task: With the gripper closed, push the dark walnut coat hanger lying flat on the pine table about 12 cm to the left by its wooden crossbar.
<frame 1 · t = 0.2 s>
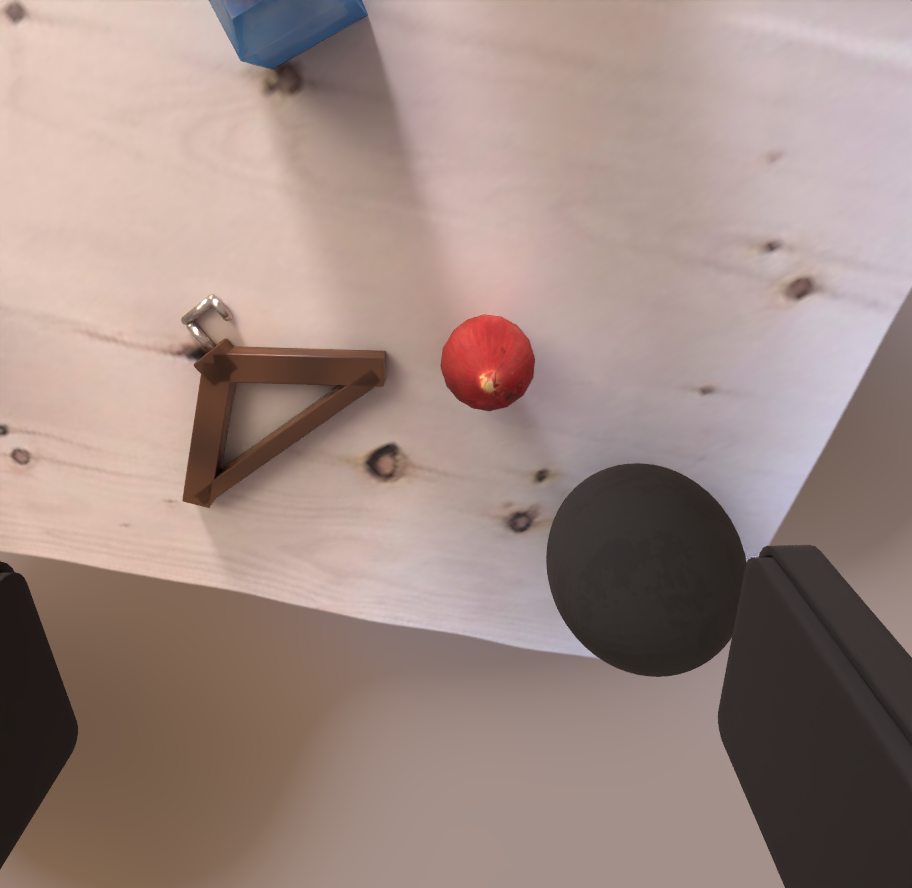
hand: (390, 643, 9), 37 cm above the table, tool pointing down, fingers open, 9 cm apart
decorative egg: (617, 503, 51), on the table
hanger: (260, 399, 47), on the table
onion: (485, 344, 46), on the table
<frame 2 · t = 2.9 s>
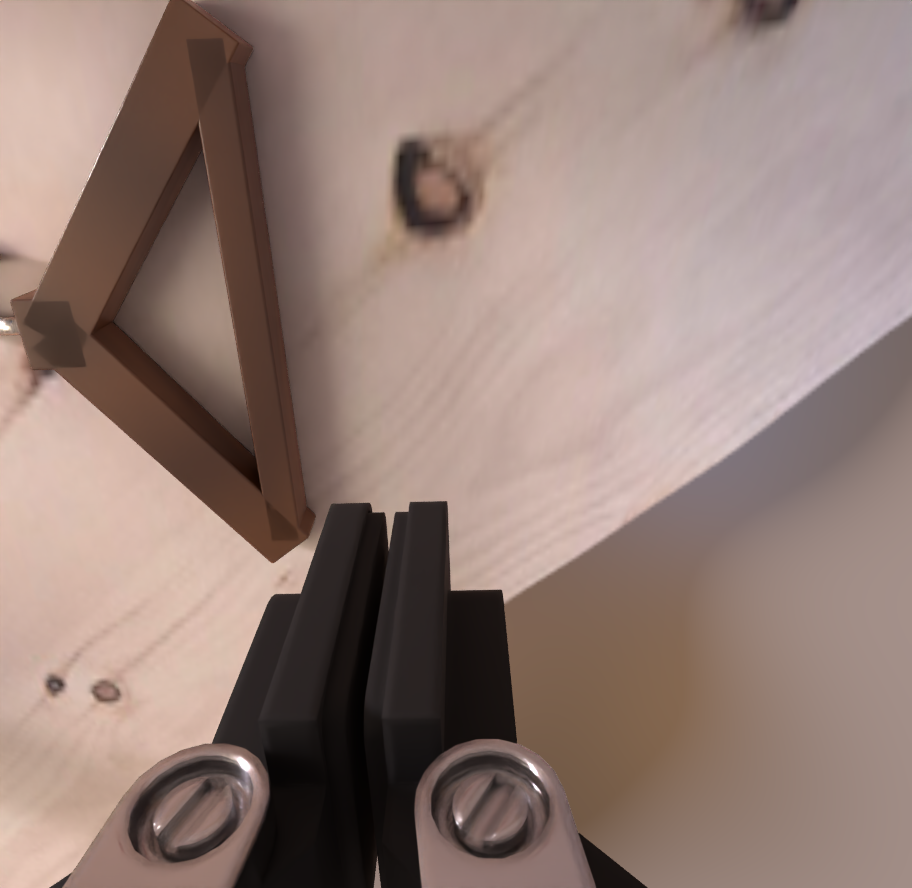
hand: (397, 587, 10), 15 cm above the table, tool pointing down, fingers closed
hanger: (177, 319, 24), on the table
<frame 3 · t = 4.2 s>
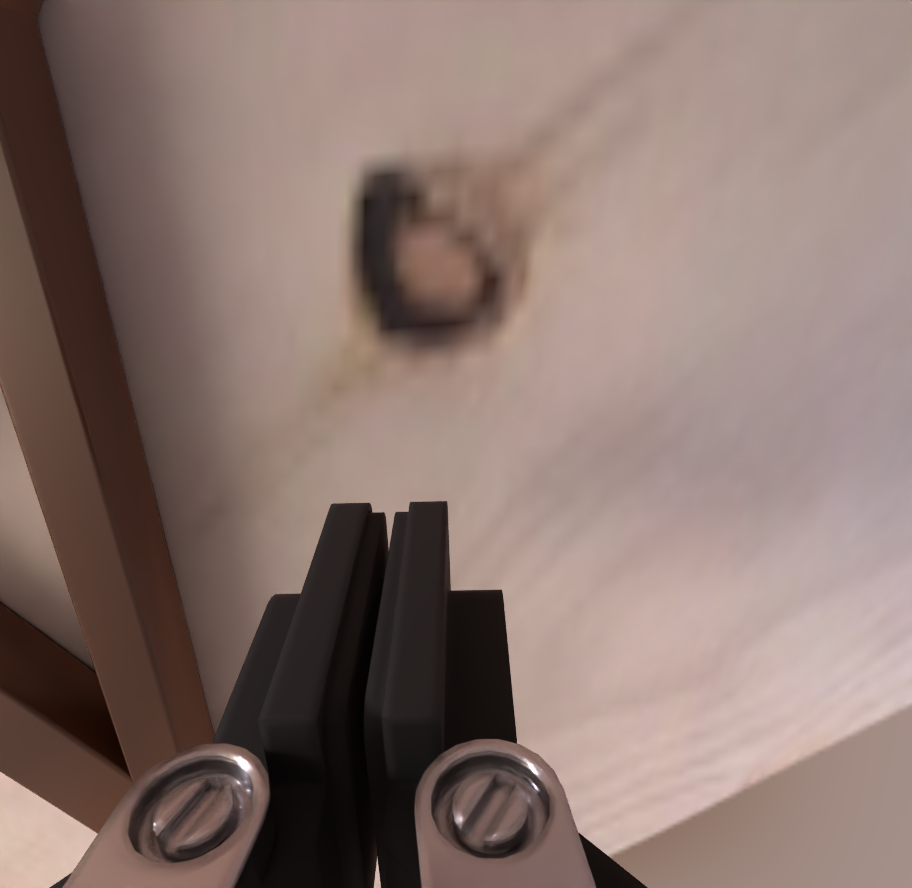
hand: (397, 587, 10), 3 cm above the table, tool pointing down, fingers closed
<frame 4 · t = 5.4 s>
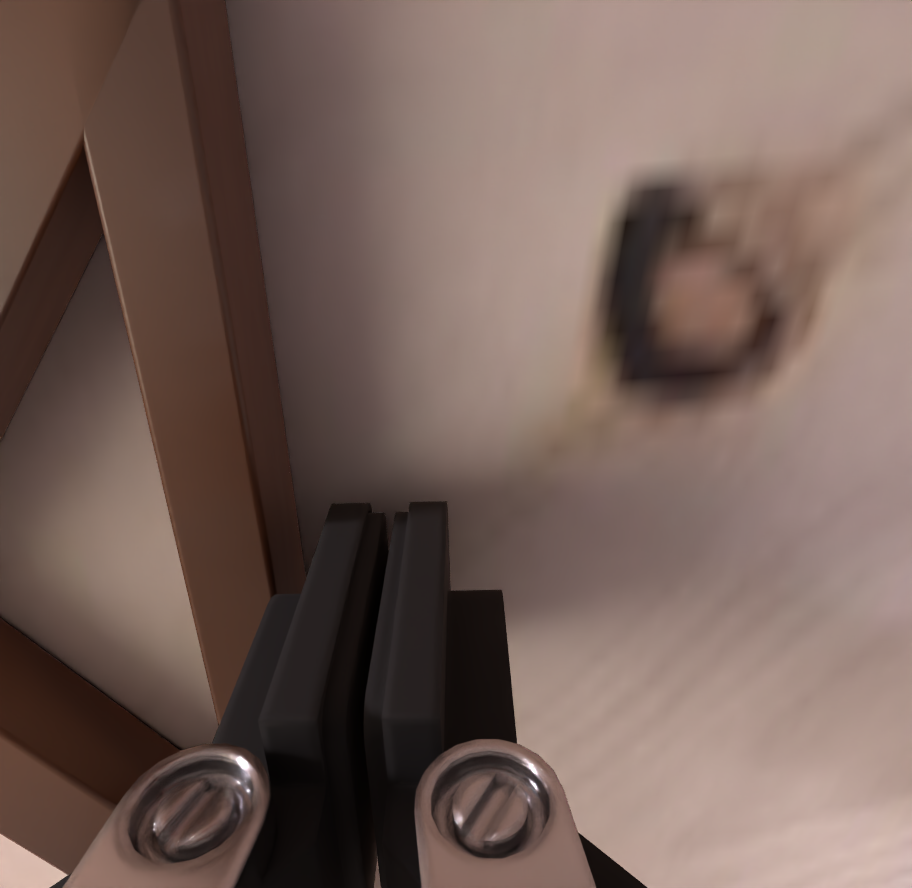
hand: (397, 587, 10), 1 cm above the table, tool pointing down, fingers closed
hanger: (79, 567, 11), on the table, touching gripper
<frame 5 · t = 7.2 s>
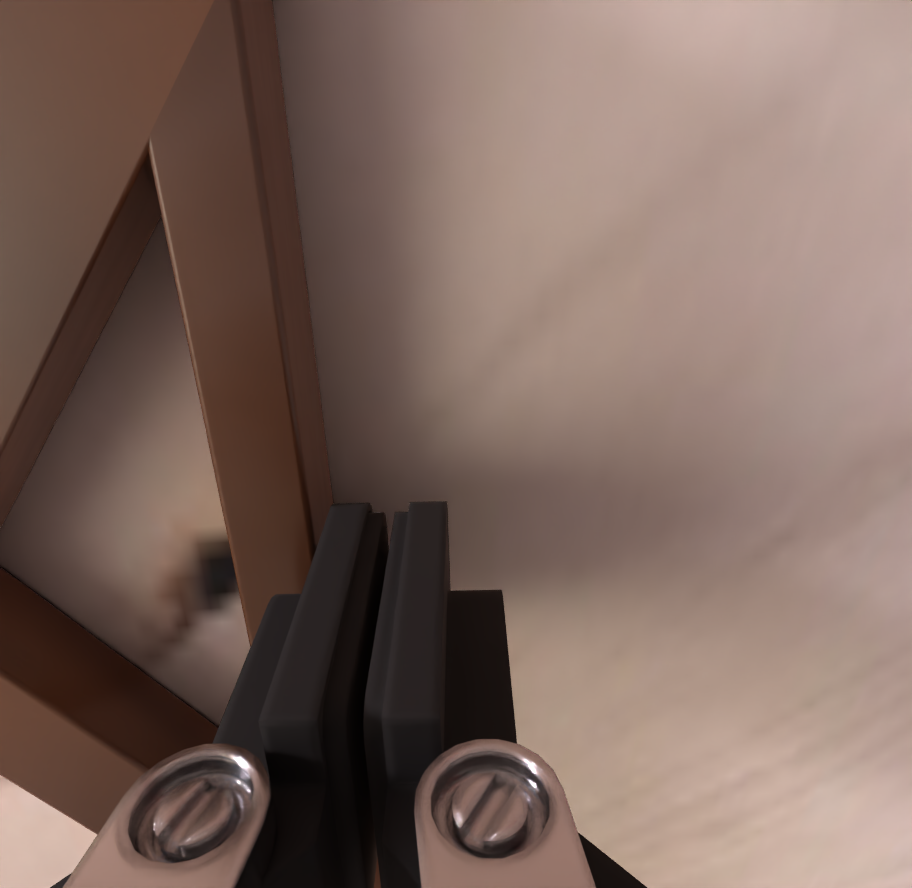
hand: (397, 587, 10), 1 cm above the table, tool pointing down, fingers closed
hanger: (122, 551, 11), on the table, touching gripper
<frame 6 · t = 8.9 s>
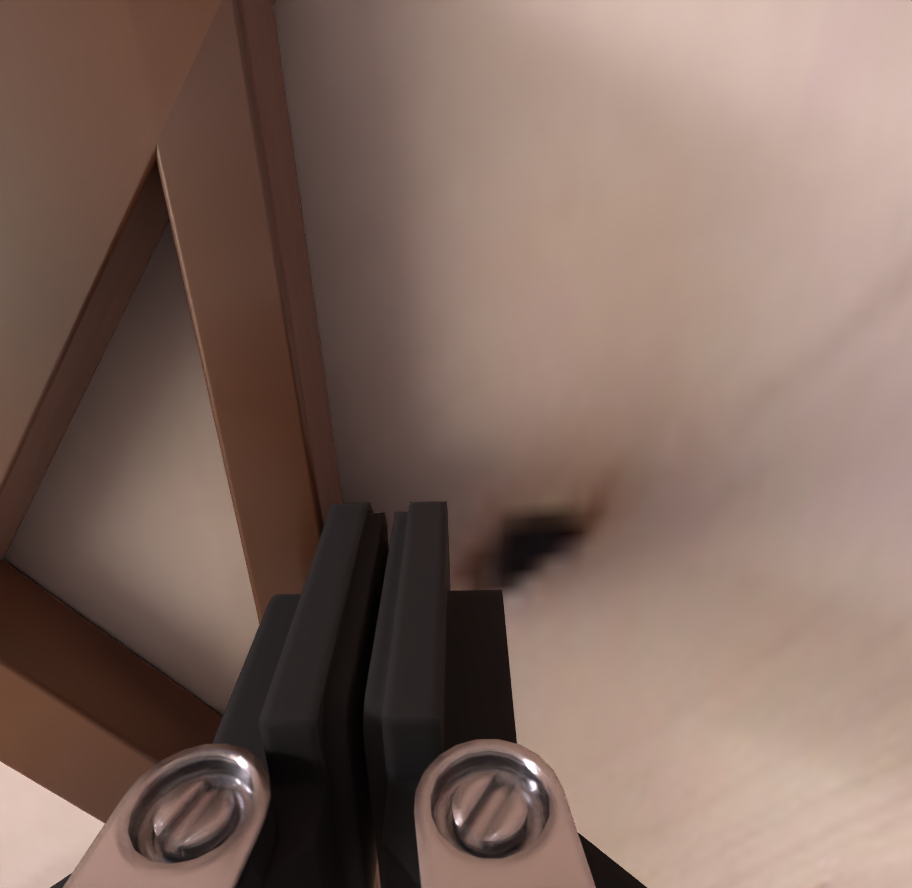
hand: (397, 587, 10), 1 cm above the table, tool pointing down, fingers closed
hanger: (136, 551, 11), on the table, touching gripper
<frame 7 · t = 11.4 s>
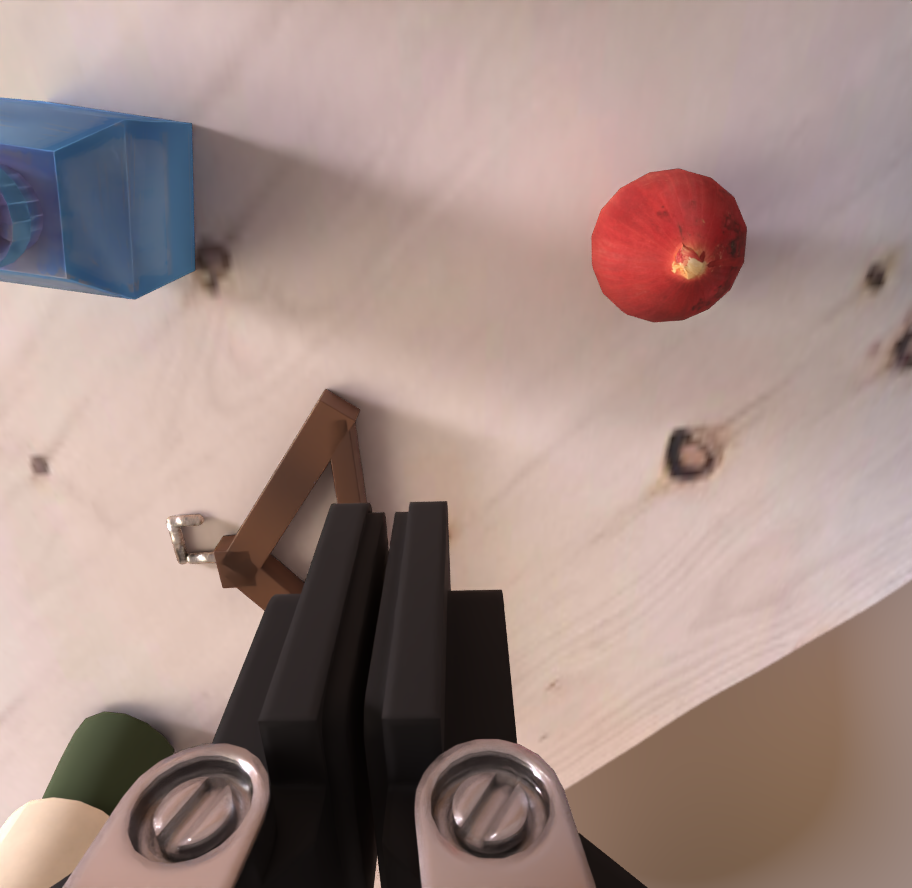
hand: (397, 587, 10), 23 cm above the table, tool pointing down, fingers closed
hanger: (308, 549, 37), on the table
perfume bottle: (125, 189, 30), on the table
onion: (643, 235, 30), on the table
character mug: (130, 737, 44), on the table
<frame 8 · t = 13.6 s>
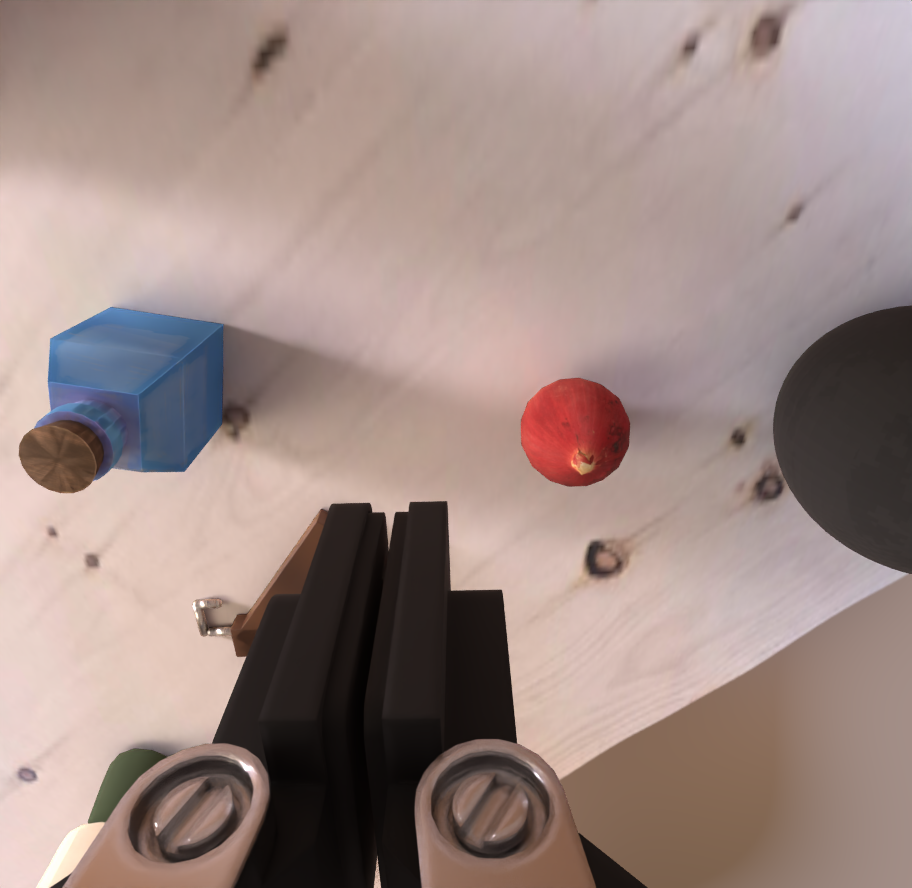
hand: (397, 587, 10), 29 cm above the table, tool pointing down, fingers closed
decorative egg: (838, 383, 40), on the table
hanger: (305, 625, 47), on the table
perfume bottle: (170, 366, 39), on the table
onion: (564, 405, 40), on the table
character mug: (155, 767, 53), on the table
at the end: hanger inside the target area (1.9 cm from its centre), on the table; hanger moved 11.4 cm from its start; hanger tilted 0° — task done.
